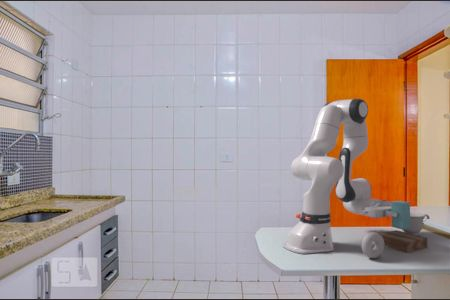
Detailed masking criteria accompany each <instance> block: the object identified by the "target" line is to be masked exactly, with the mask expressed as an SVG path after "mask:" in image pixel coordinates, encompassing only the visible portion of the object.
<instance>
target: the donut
mask: <svg viewBox="0 0 450 300" xmlns="http://www.w3.org/2000/svg"><path fill="white" fill-rule="evenodd" d="M373 242H374V247H373V248H372V244H373ZM385 247H386V246H385V244H384V240H383V237H382V236H381V235H380V234H379V232H377V231H370V232H368V233H366V234H365V235H364V236H363V238H362V240H361V250H362V252H363V254H364V255H365V256H366V257H367V258H369V259H376V258H377V259H378V258H379V257H380V256H381V255H382V254H383V252H384V250H385Z"/></svg>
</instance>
